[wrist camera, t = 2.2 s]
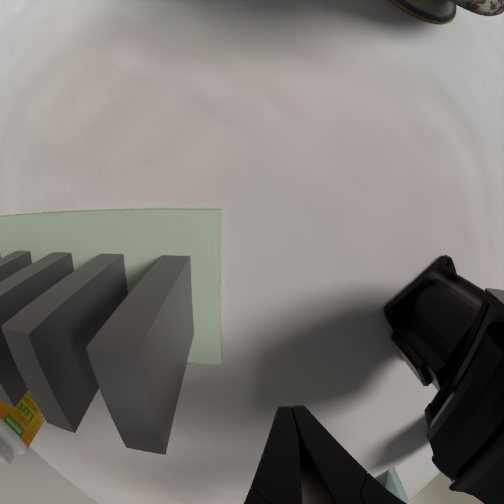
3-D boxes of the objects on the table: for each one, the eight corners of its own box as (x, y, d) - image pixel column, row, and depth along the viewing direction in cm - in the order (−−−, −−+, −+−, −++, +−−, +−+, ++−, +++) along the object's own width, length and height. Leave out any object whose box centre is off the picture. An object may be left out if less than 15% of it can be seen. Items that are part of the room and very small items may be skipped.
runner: (221, 209, 15) (220, 210, 14) (221, 360, 18) (221, 364, 17) (-56, 222, 13) (-59, 223, 13) (-37, 311, 16) (-40, 313, 16)
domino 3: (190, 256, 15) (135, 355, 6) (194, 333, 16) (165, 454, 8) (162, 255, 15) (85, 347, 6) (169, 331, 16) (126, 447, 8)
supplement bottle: (52, 398, 19) (12, 463, 10) (49, 419, 20) (17, 476, 11) (13, 366, 18) (-33, 423, 9) (14, 391, 19) (-23, 442, 10)
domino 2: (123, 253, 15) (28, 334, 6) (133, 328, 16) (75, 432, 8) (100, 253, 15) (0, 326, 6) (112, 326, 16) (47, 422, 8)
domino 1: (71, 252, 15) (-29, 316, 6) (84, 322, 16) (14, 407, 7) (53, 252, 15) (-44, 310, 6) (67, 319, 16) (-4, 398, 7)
